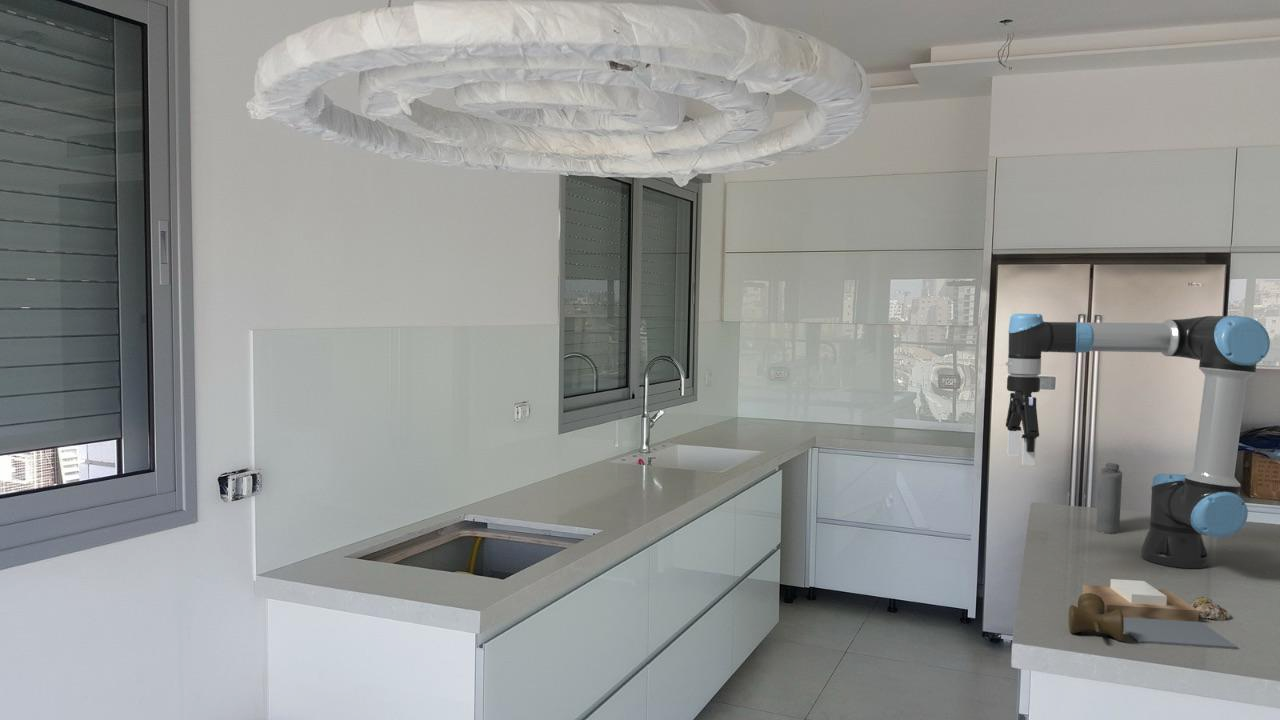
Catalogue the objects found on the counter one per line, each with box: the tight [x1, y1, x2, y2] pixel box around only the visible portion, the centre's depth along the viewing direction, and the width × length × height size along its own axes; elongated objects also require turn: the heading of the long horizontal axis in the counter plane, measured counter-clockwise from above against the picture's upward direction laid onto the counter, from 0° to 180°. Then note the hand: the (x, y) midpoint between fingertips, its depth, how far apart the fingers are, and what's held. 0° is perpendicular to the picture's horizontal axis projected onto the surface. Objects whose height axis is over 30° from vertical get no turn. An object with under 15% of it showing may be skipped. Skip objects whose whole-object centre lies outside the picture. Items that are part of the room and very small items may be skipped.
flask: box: [1096, 462, 1123, 534], centre depth 266 cm, size 15×6×20 cm, turn 150°
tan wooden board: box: [1081, 584, 1200, 622], centre depth 191 cm, size 18×14×2 cm
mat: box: [1123, 617, 1238, 650], centre depth 177 cm, size 18×14×1 cm
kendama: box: [1068, 593, 1125, 642], centre depth 177 cm, size 6×10×20 cm
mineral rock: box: [1190, 596, 1232, 622], centre depth 190 cm, size 11×4×8 cm
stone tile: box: [1109, 578, 1167, 606], centre depth 192 cm, size 7×11×2 cm, turn 173°
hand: (1020, 460), depth 219 cm, fingers open, 13 cm apart
